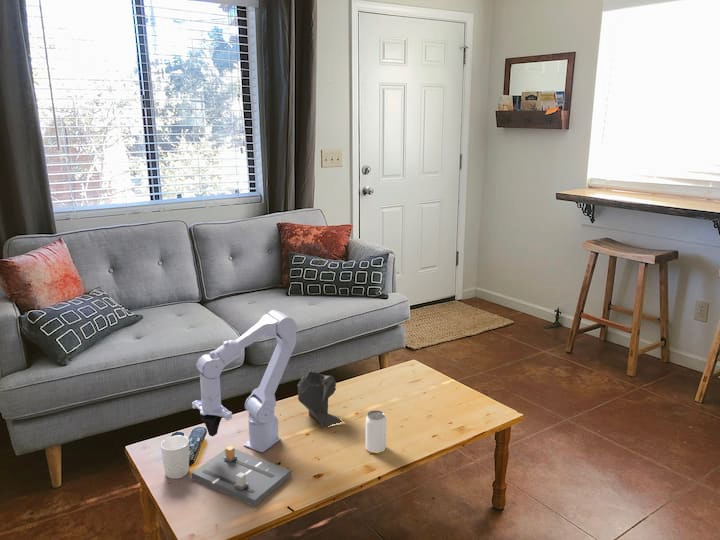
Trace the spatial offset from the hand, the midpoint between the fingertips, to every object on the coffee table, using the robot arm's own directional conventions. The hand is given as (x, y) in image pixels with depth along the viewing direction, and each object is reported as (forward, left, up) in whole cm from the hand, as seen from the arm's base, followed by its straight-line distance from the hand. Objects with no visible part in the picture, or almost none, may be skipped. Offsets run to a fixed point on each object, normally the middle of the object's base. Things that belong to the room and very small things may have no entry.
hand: (213, 434), depth 180 cm
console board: (+3, +14, -8) cm, 16 cm away
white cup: (+11, -4, -9) cm, 15 cm away
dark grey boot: (-38, +13, -9) cm, 41 cm away
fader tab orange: (0, +6, -6) cm, 9 cm away
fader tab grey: (+8, +19, -6) cm, 21 cm away
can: (-31, +40, -9) cm, 51 cm away
